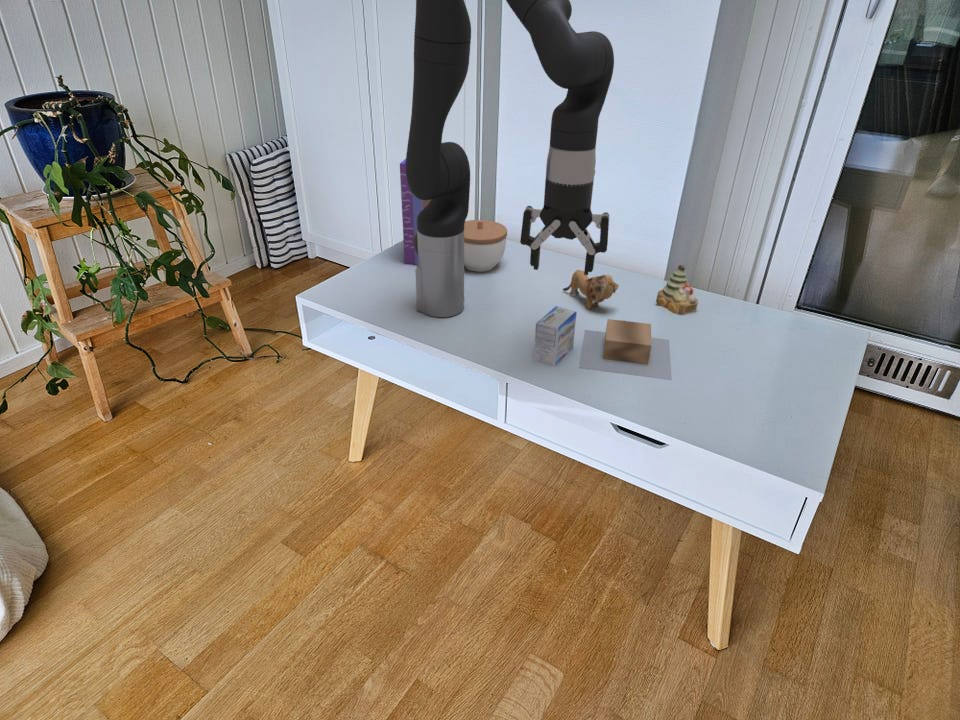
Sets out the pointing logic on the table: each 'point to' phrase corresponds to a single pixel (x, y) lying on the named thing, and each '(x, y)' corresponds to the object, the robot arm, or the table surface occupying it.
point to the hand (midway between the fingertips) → (561, 270)
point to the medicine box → (554, 335)
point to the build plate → (594, 361)
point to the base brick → (627, 341)
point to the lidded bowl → (483, 244)
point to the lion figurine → (592, 287)
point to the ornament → (678, 294)
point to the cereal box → (410, 218)
